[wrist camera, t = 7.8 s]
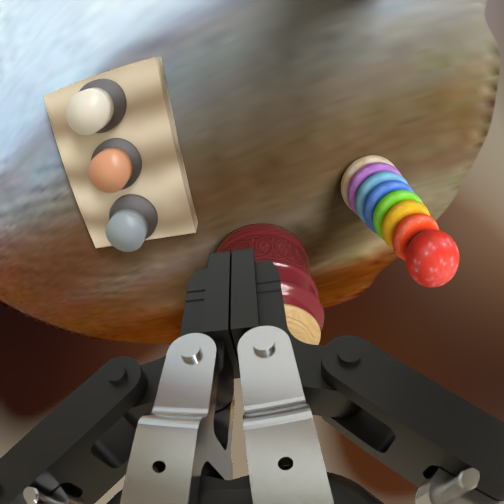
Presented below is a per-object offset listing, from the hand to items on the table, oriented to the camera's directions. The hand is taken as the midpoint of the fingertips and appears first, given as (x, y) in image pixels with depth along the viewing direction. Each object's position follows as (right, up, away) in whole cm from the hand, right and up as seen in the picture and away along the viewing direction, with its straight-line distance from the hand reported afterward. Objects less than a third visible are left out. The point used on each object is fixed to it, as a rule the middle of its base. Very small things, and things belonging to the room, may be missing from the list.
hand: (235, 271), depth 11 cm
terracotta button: (-15, +10, +21) cm, 27 cm away
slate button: (-14, +4, +24) cm, 28 cm away
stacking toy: (+15, +9, +27) cm, 33 cm away
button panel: (-15, +12, +24) cm, 30 cm away
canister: (+2, -1, +34) cm, 34 cm away
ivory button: (-15, +15, +16) cm, 27 cm away
